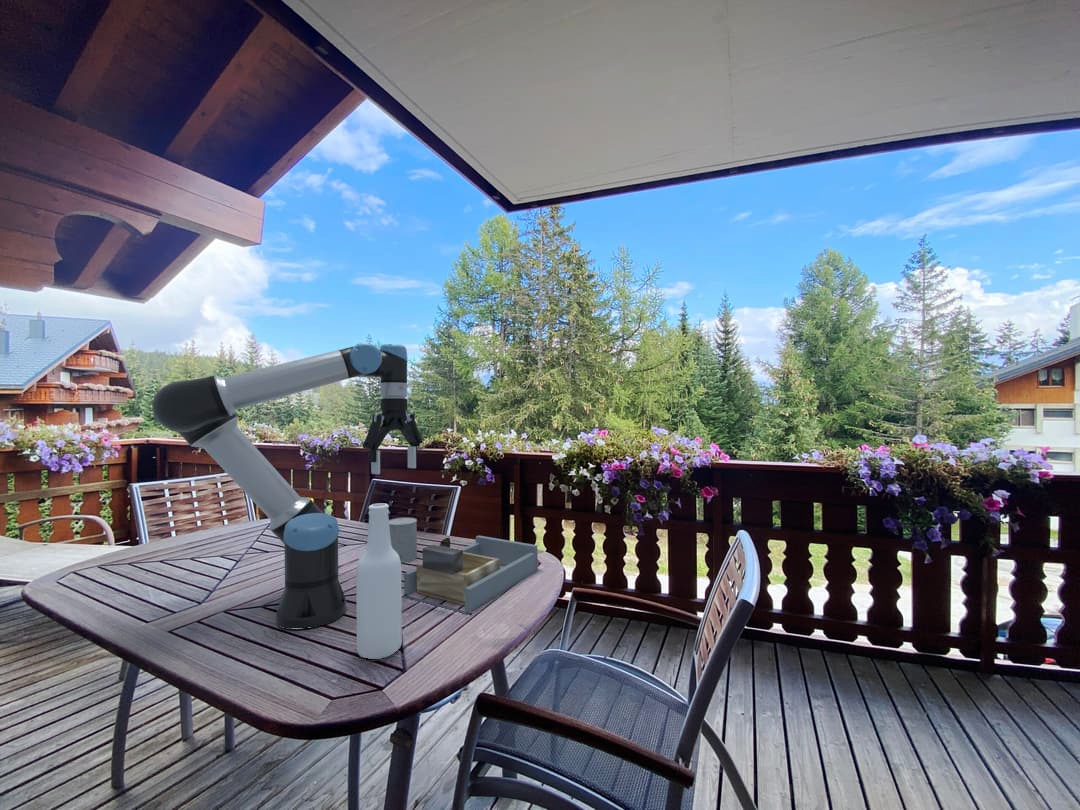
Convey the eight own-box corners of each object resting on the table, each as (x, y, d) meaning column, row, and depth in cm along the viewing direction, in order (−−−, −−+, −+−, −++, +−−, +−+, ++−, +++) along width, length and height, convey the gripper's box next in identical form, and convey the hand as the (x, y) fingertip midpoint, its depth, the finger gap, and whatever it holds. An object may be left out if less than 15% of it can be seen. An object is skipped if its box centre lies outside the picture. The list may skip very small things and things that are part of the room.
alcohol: (403, 656, 92) (402, 507, 92) (355, 665, 89) (354, 511, 89) (400, 636, 100) (399, 499, 100) (357, 643, 97) (356, 502, 97)
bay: (470, 616, 109) (470, 581, 109) (404, 598, 120) (404, 565, 120) (537, 573, 137) (537, 545, 137) (478, 561, 148) (478, 535, 148)
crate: (463, 608, 111) (463, 556, 111) (412, 594, 120) (412, 546, 120) (500, 586, 125) (499, 540, 125) (452, 575, 133) (451, 532, 133)
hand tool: (434, 568, 143) (434, 553, 144) (422, 567, 144) (422, 552, 144) (457, 549, 162) (457, 536, 162) (446, 549, 163) (446, 536, 163)
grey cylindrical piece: (381, 561, 150) (381, 523, 150) (398, 552, 159) (398, 516, 159) (406, 563, 147) (406, 525, 147) (422, 554, 156) (422, 518, 156)
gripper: (367, 397, 121) (368, 477, 121) (433, 398, 142) (434, 466, 142) (348, 397, 124) (349, 475, 124) (416, 398, 146) (416, 465, 146)
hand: (394, 470), depth 133 cm, fingers open, 13 cm apart
